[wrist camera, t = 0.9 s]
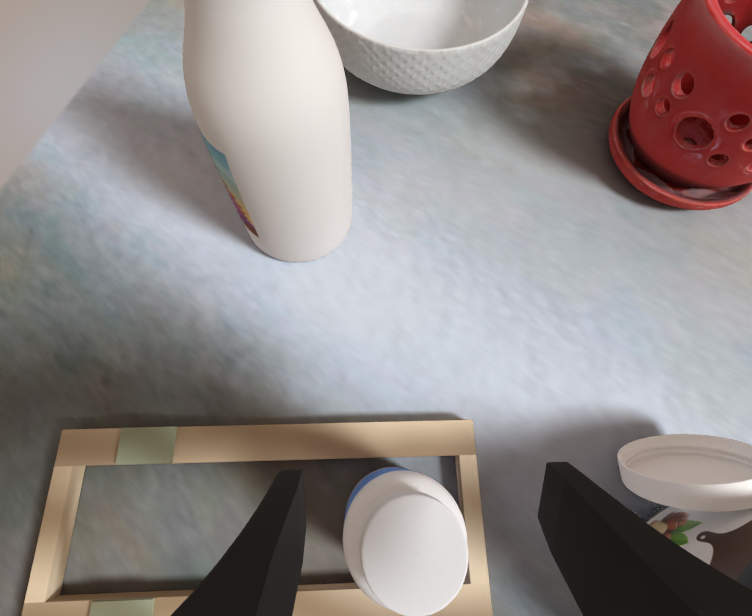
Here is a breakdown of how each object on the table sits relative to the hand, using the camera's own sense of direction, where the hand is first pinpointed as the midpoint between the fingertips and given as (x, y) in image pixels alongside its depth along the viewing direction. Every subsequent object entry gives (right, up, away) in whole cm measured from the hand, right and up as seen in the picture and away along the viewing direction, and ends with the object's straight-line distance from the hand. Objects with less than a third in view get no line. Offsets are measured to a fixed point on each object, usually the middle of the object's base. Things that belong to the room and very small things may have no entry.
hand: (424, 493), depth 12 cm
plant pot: (+23, +18, +22) cm, 37 cm away
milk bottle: (-7, +12, +19) cm, 23 cm away
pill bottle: (-1, -7, +12) cm, 14 cm away
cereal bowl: (+1, +28, +25) cm, 38 cm away
